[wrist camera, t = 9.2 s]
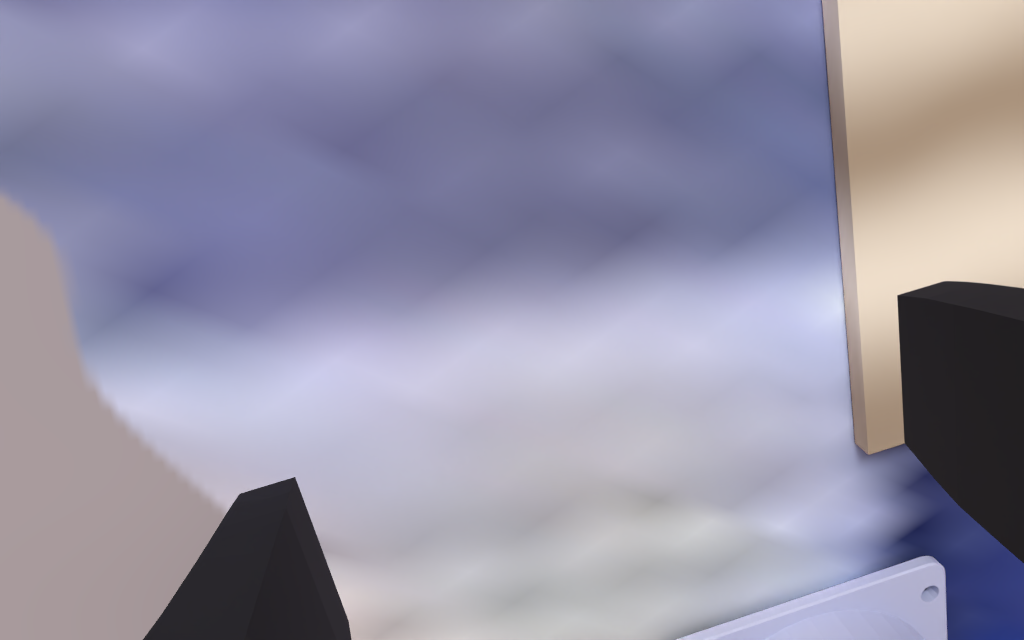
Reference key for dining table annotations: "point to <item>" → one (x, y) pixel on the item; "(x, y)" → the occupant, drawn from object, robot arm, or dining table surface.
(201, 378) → the dining table surface
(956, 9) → the board
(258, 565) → the robot arm
